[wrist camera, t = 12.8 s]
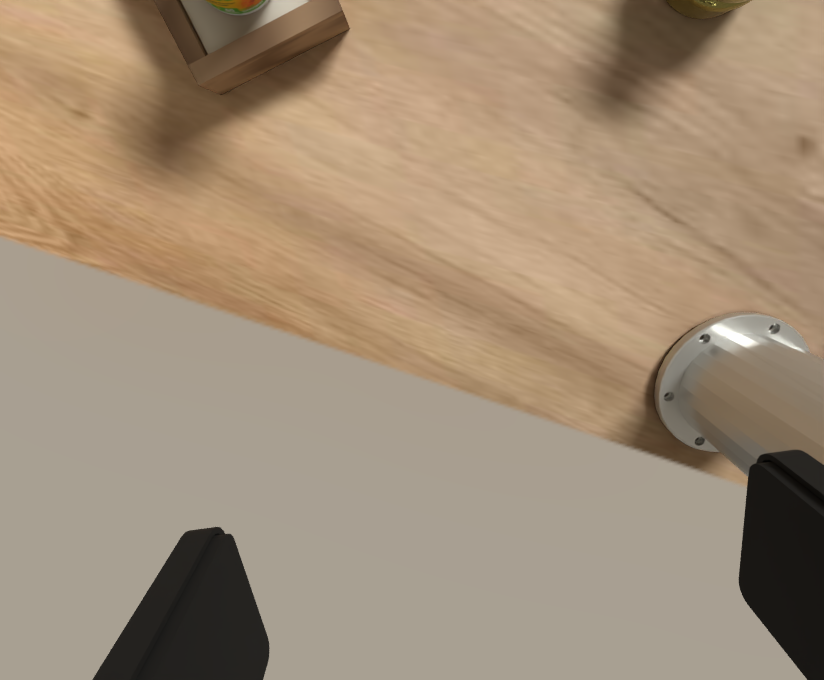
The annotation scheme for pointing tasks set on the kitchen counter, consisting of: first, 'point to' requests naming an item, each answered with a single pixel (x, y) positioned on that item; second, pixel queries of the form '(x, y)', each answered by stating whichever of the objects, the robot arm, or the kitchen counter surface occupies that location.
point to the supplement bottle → (237, 6)
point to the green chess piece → (705, 7)
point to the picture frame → (247, 37)
